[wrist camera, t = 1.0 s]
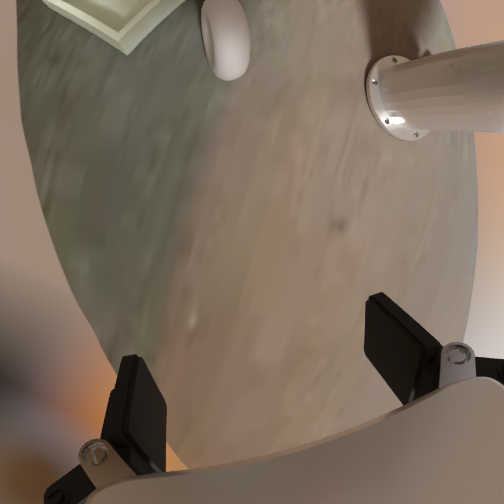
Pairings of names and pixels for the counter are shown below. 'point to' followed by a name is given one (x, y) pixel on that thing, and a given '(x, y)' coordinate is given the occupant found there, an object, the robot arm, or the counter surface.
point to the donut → (225, 38)
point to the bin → (116, 18)
